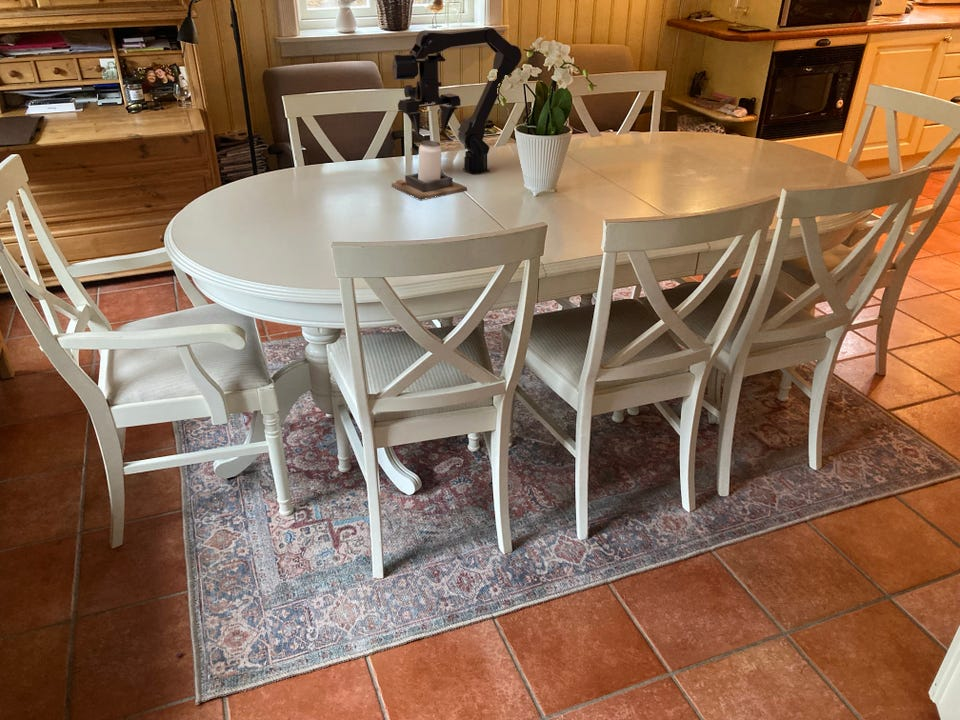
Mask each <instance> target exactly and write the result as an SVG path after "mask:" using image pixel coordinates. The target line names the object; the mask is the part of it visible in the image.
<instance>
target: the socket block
mask: <svg viewBox="0 0 960 720" xmlns="http://www.w3.org/2000/svg"><path fill="white" fill-rule="evenodd" d="M404 178H405V180H404V179H397V180H396V181H395V182H392V183H391V187H392V186H393V187H392V188H394V187H395V188H394V189H396V188H397V189H396V190H398V189H399V190H398V191H400V190H401V191H400V192H402V191H403V192H402V193H404V192H405V193H404V194H406V193H407V194H406V195H408V194H409V195H408V196H410V195H412V196H414V197H416V198H418V199H425V198H429V199H432V198H431V197H434V198H438V197H437V196H439V197H442V196H441V195H444V196H447V194H448V195H453V194H456V193H457V192H458V193H461V192H466V191H468V188H467V186H465V185H463V184H460V183H458V182H455V181H454V180H453V177H451V176H448V175H447V174H444V173H442V172H441V175H440V179H438V180H433V181H428V182H423V181H421V180H419V179H418V172H417V173H412V174H407V175H404ZM452 193H453V194H452ZM412 196H411V197H412ZM435 196H436V197H435ZM414 197H413V198H414ZM416 198H415V199H416ZM418 199H417V200H418ZM425 200H426V199H425Z"/></svg>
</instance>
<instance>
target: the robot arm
mask: <svg viewBox="0 0 960 720" xmlns="http://www.w3.org/2000/svg"><path fill="white" fill-rule="evenodd" d="M485 43H486V45H488V47H489V48H490V50H492V51H493V52H494V53H495V54H494V58H493V64H492V70H493V69H497V70H498V72H497V79H496V80H495V81H489V79H488V80H487V83H486V84H485V87H484V89H483V91H482V93H481V96H480V97H479V100H478V102H477V105H476V106H475V109H474V111H473V113H472V114H471V116H470V117H469V118H468V119H467V118H465V117H463V118H462V121H461V125H460V126H459V127H458V128H457V131H458V134H457V138H458V140H459V142H460V144H463V147H464V149H465V150H466V151H465V152H464V153H465V156H464V160H463V161H464V163H463V164H464V165H463V166H464V167H463V168H462V171H464V172H468V173H470V174H472V175H478V174H482V173H488V172H491V169H490V168H488V154H489V151H490V146H489V144H487V143H486V142H485V141H484V136H485V133H486V123H487V120H488V119H489V116H490V115H491V112H492V111H493V107H494V106H495V103H496V102H497V99H498V97H499V95H498V94H497V88H498V87H497V86H498V84H499V83H501V81H502V79H503V78H504V76H505V75H509V76H510V75H511V74H513V72H514V71H515V70H516V68H517V67H518V65H519V64H520V62H521V61H522V56H523V54H522V51H521V49H520V48H519V47H518V46H517V45H515V44H511V43H510V42H509V41H508V40H507V39H505V37H503V36H502V35H500V34H499V33H498V32H497V30H496V29H495V28H493V27H489V26H485V27H482V28H474V29H473V28H472V29H465V30H457V31H455V30H454V31H448V32H446V31H437V30H426V29H425V30H421V31H420V32H419V33H418V34H417V35H416V38H415V44H413V47H412V48H411V50H410V51H409V53H406V54H399V53H394V54H393V59H392V65H391V71H392V76H393V79H394V80H395V81H402V80H414V79H415V78H416V77H418V80H417V81H416V86H414V87H413V85H412V84H409V85H404V87H403V89H404V90H403V93H404V97H405V98H404V99H399V101H398V103H397V110H398V111H401V112H402V113H403V114H406V116H407V117H408V119H409V120H410V122H411V124H412V127H413V130H414V132H415V135H417V136H419V135H420V130H421V129H420V128H421V112H419V111H420V108H421V109H422V108H427V107H433V106H439V109H440V111H441V112H440V113H441V114H440V115H441V116H440V117H441V121H440V122H441V123H440V124H441V130H442V131H443V132H445V131H446V129H447V127H448V124H449V122H450V120H451V117H453V116H452V115H453V114H454V112H455V110H457V109H458V107H460V106H461V105H462V103H461V102H462V99H461V97H460V96H459V95H458V94H453V93H444V94H440V87H441V86H442V82H441V81H440V77H439V75H440V73H439V62H445V61H446V58H445V57H444V56H442V54H441V52H443V51H445V50H448V49H449V48H454V47H455V48H456V47H462V46H469V45H478V44H485ZM442 131H441V132H442Z"/></svg>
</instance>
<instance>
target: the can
mask: <svg viewBox="0 0 960 720" xmlns="http://www.w3.org/2000/svg"><path fill="white" fill-rule="evenodd" d="M417 171H418V172H417V173H418V179H419V180H421V181H423V182H428V181H433V180H438V179H440V175H441V173H442V172H441V171H442V147H441V143H440V142H439V141H436V140H421V142H420V146H419V147H418V169H417Z"/></svg>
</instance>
